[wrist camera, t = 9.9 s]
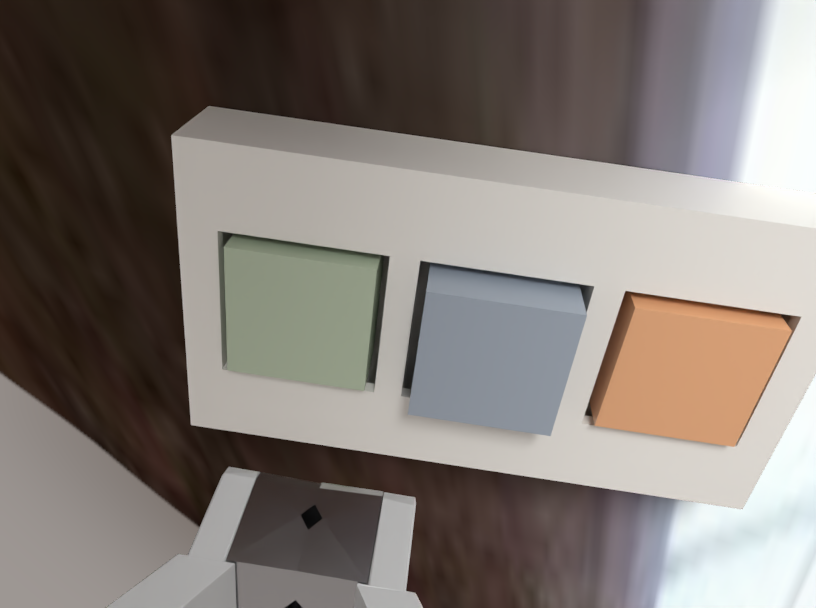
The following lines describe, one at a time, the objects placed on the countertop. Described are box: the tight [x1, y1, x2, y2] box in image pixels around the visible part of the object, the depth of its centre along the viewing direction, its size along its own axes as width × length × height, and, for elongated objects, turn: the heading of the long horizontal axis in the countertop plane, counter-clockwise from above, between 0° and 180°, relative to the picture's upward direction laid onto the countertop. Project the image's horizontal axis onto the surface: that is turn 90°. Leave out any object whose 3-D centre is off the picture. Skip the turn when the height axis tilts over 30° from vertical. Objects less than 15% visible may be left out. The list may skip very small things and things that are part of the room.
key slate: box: [408, 262, 587, 436], centre depth 28 cm, size 6×6×3 cm
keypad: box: [171, 106, 816, 509], centre depth 30 cm, size 14×26×4 cm, turn 83°
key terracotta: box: [589, 291, 792, 447], centre depth 29 cm, size 6×6×3 cm
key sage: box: [224, 233, 384, 391], centre depth 29 cm, size 6×6×3 cm
